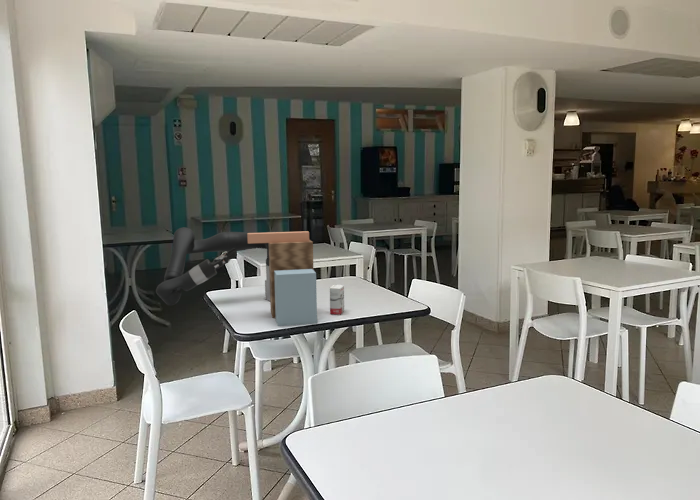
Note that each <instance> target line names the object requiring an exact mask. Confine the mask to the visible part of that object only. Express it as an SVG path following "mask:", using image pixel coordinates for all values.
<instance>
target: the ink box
mask: <svg viewBox="0 0 700 500" xmlns="http://www.w3.org/2000/svg"><path fill="white" fill-rule="evenodd" d="M344 311H345V284H333V285H331V286H330V287H329V315H337V316H338V315H339V316H341V314H342V313H343V312H344Z"/></svg>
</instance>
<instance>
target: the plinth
mask: <svg viewBox="0 0 700 500" xmlns="http://www.w3.org/2000/svg"><path fill="white" fill-rule="evenodd" d="M300 269H313V270H314V241H312V240H311V239H309V242H279V243H269V274H270V301H269V302H270V303H269V305H270V314H271V317H272V319H276V314H275V279H274V271H279V270H300Z"/></svg>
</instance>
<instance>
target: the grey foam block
mask: <svg viewBox="0 0 700 500" xmlns="http://www.w3.org/2000/svg"><path fill="white" fill-rule="evenodd" d="M274 279H275V314H276V318H275V322H276V324H277V327H284V326H296V325H298V326H299V325H312V324H317V323H318V307H317V306H318V303H317V300H318V299H317V294H318V293H317V272H316V271H315V270H314V268H313V269H300V270H279V271H274Z"/></svg>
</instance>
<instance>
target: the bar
mask: <svg viewBox="0 0 700 500" xmlns="http://www.w3.org/2000/svg"><path fill="white" fill-rule="evenodd" d="M268 232H269V233H264V232H246V233H247V236H248V244H250V243H279V242H309V240H310V232H309V231H308V230H307V231H306V230H305V231H274V232H272V231H268Z"/></svg>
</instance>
